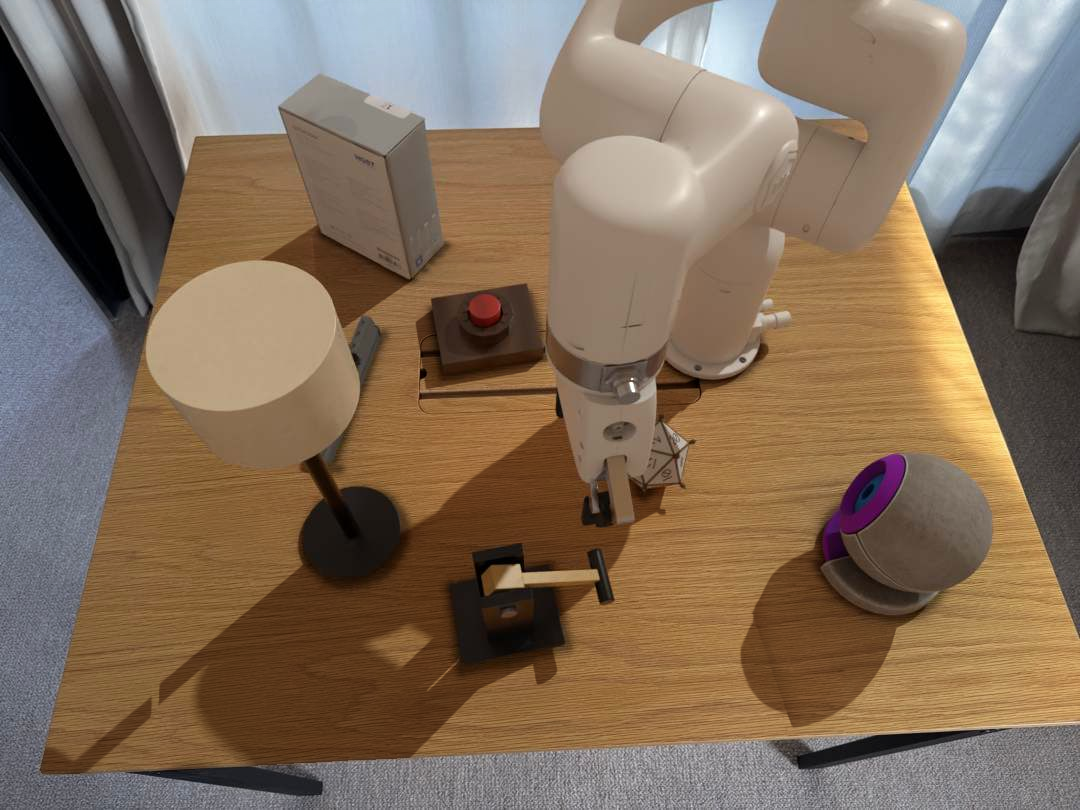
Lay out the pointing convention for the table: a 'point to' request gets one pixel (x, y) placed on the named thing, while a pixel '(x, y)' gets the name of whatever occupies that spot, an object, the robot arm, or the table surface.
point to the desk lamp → (273, 394)
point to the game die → (664, 458)
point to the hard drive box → (366, 172)
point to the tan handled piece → (550, 578)
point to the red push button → (484, 310)
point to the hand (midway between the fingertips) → (587, 463)
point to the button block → (487, 331)
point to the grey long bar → (358, 364)
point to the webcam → (906, 533)
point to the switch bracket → (503, 612)
